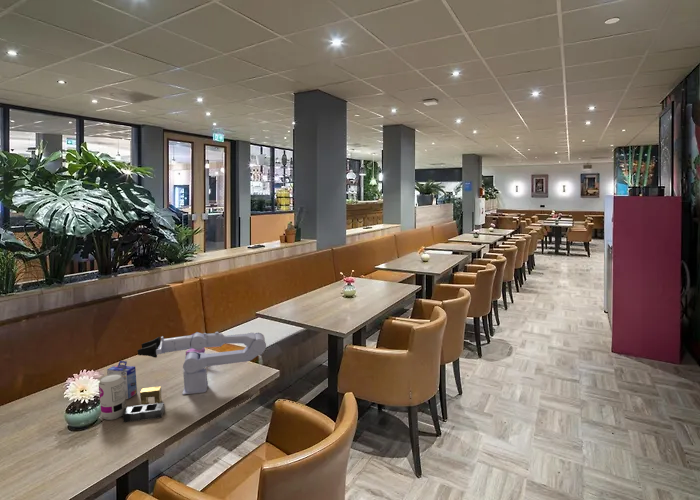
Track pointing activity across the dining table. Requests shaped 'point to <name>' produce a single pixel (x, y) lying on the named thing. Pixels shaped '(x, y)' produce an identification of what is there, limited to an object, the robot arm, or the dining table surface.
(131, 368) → the ink cartridge box
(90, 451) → the dining table surface
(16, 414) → the dining table surface
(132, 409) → the rail
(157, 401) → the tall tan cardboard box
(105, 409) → the supplement can
